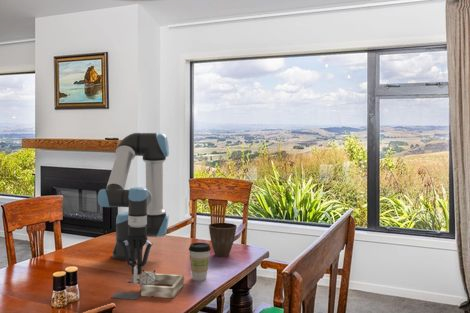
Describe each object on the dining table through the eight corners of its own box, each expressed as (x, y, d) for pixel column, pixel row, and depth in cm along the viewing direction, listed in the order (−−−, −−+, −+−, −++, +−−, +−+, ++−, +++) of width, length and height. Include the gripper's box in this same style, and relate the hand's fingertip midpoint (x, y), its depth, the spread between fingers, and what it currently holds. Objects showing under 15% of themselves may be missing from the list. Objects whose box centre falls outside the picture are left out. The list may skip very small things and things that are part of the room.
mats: (111, 298, 162) (111, 297, 162) (134, 277, 186) (134, 277, 186) (135, 299, 161) (135, 299, 161) (155, 279, 184) (155, 278, 184)
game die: (148, 300, 169) (146, 286, 163) (133, 289, 173) (131, 274, 166) (163, 285, 175) (162, 271, 169) (148, 274, 179) (147, 260, 172)
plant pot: (216, 249, 235) (216, 221, 234) (240, 253, 229) (241, 224, 228) (203, 256, 221) (203, 226, 221) (228, 260, 215) (229, 229, 214)
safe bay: (141, 295, 165) (141, 285, 165) (153, 282, 180) (153, 273, 180) (173, 298, 163) (173, 288, 163) (183, 284, 178) (183, 275, 178)
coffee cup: (201, 283, 180) (202, 249, 179) (183, 279, 185) (184, 245, 185) (214, 277, 188) (215, 244, 188) (197, 273, 194) (197, 241, 193)
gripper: (118, 226, 169) (117, 284, 170) (149, 228, 167) (148, 286, 168) (126, 222, 176) (125, 278, 177) (155, 224, 175) (154, 280, 175)
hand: (136, 282), depth 173 cm, fingers closed
